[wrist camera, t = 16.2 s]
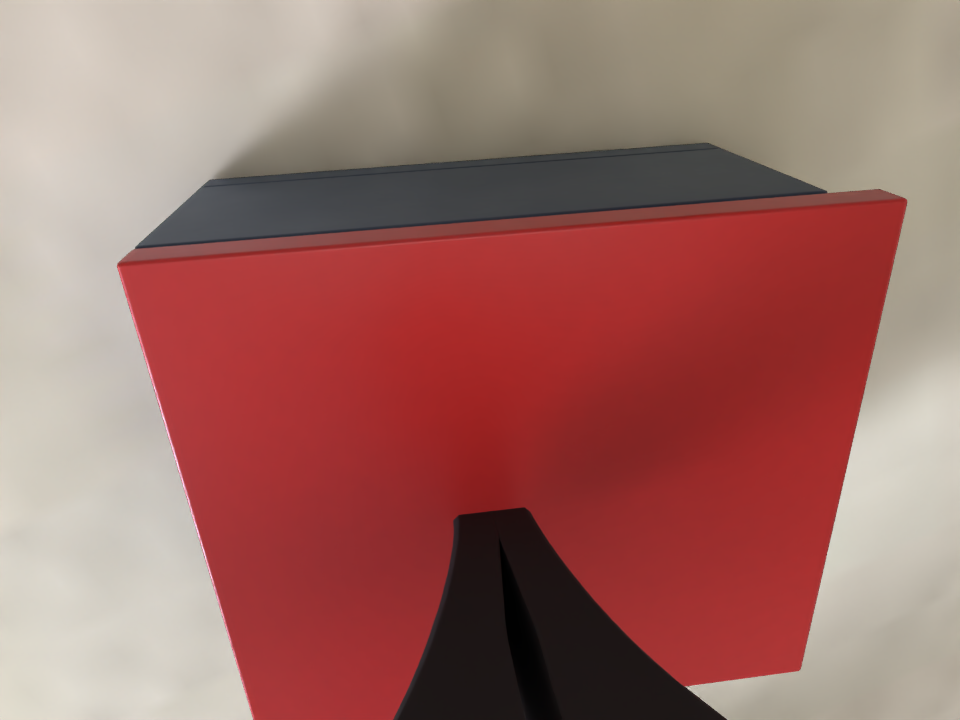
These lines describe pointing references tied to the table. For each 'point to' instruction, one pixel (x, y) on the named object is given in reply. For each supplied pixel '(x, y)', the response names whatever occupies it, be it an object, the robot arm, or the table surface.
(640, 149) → the dark blue open box
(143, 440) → the table surface
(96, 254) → the table surface
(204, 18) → the table surface
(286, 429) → the lid
